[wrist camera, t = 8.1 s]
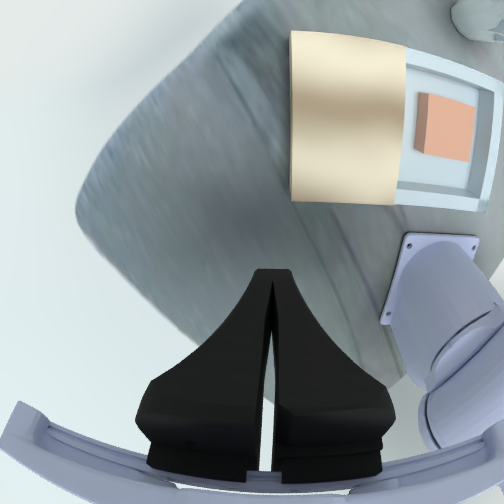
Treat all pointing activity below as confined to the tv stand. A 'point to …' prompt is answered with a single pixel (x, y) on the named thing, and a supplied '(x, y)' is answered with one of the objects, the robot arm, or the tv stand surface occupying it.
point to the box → (439, 168)
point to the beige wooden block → (345, 118)
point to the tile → (444, 127)
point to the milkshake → (479, 19)
